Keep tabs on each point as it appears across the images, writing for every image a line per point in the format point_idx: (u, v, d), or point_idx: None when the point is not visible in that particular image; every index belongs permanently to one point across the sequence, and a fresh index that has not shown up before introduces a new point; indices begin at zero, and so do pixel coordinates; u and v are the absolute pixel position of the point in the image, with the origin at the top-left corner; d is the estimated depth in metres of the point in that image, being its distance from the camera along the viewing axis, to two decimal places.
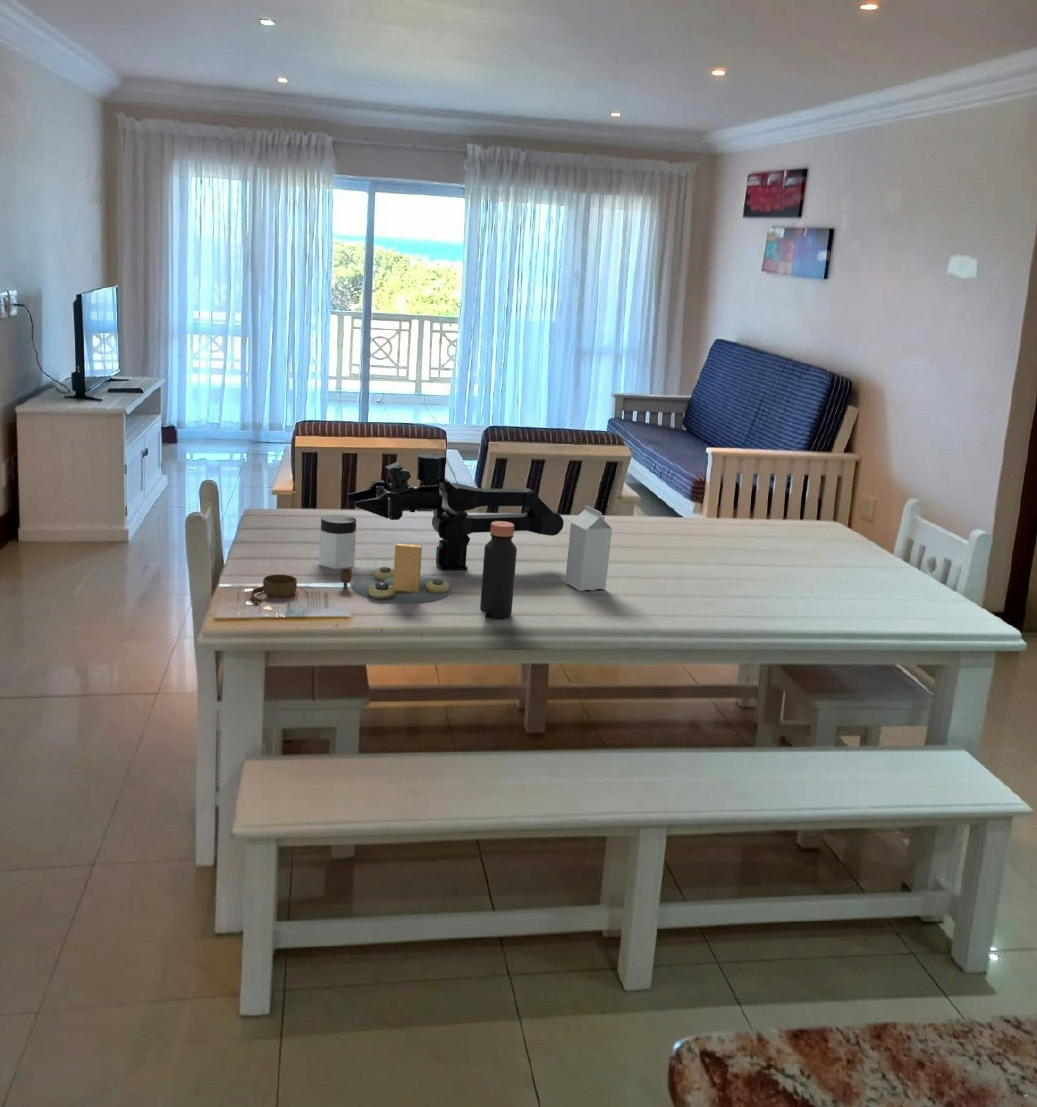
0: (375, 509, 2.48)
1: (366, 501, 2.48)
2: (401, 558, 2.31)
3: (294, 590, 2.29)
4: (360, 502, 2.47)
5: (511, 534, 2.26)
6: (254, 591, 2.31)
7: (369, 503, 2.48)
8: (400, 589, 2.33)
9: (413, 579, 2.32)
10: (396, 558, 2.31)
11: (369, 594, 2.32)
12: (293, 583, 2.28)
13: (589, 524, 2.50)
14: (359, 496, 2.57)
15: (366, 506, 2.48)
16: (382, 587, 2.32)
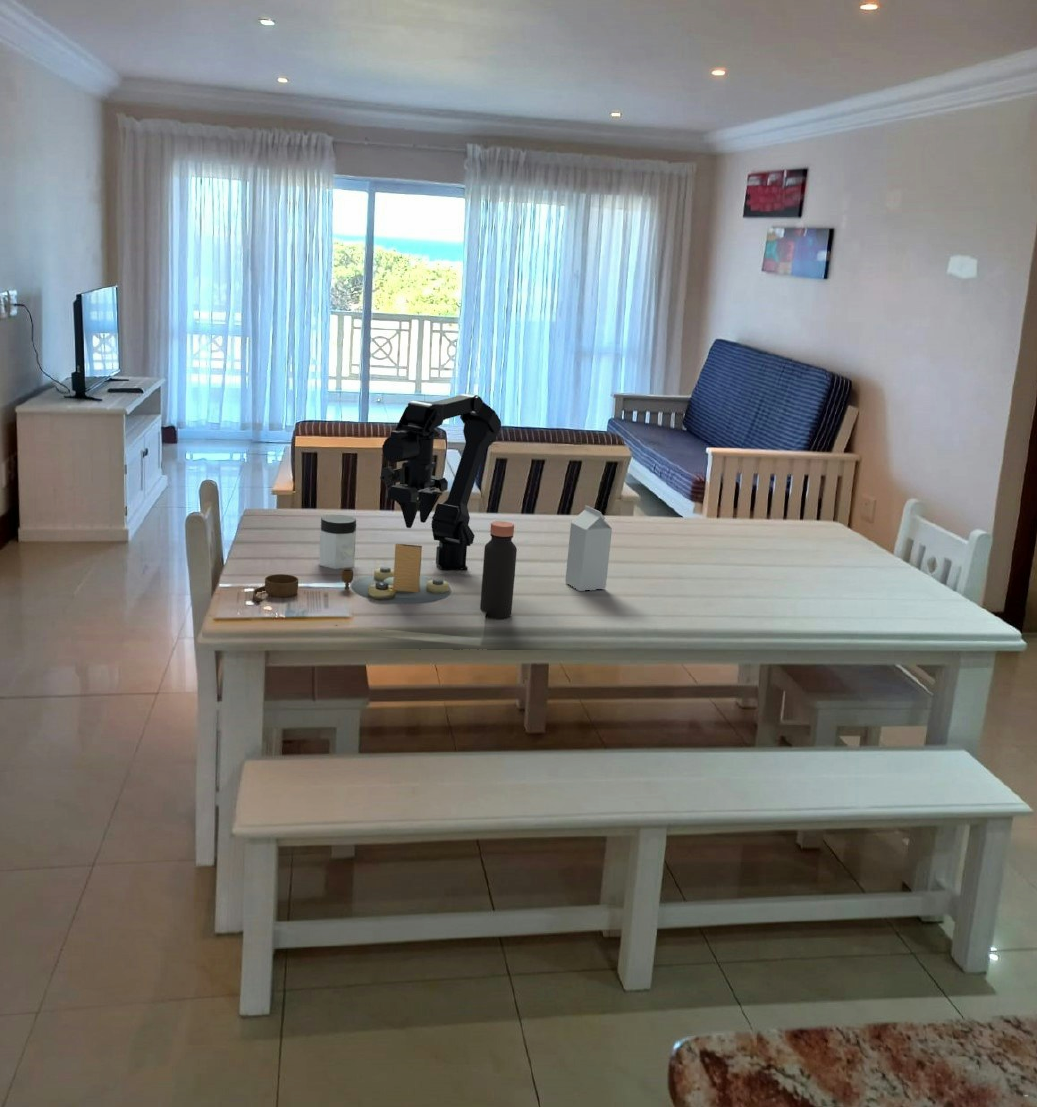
0: (410, 510, 2.43)
1: (404, 517, 2.44)
2: (401, 558, 2.31)
3: (296, 590, 2.30)
4: (406, 522, 2.45)
5: (511, 534, 2.26)
6: (256, 591, 2.32)
7: (405, 515, 2.44)
8: (400, 589, 2.33)
9: (413, 579, 2.32)
10: (396, 558, 2.31)
11: (369, 594, 2.32)
12: (295, 583, 2.29)
13: (589, 524, 2.50)
14: (423, 510, 2.51)
15: (409, 518, 2.44)
16: (382, 587, 2.32)
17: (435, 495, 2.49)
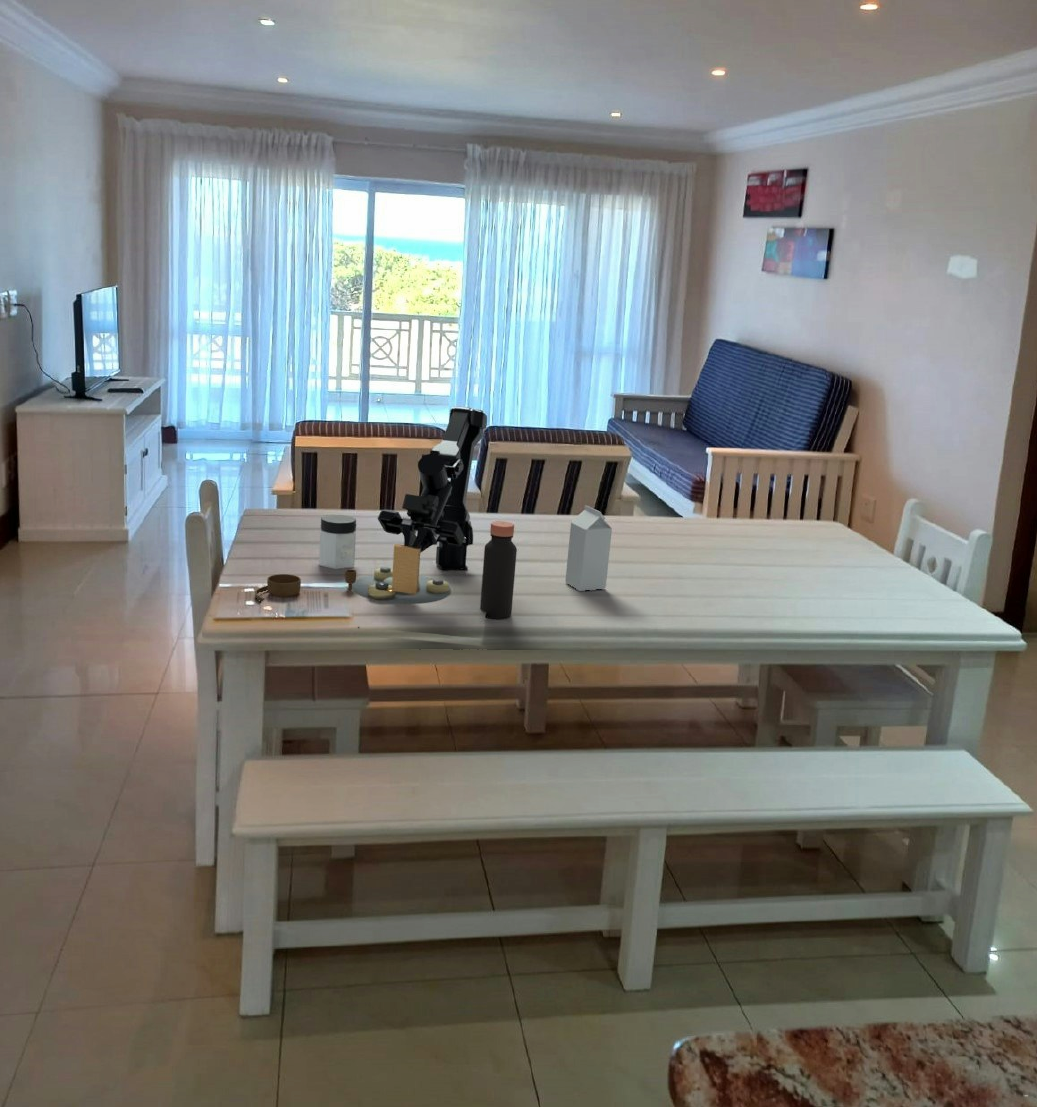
0: (422, 547, 2.33)
1: None
2: (400, 559, 2.30)
3: (298, 590, 2.30)
4: None
5: (511, 534, 2.26)
6: (259, 590, 2.32)
7: None
8: (398, 590, 2.32)
9: (411, 581, 2.31)
10: (395, 559, 2.30)
11: (368, 593, 2.32)
12: (297, 583, 2.29)
13: (589, 524, 2.50)
14: None
15: None
16: (381, 587, 2.32)
17: None
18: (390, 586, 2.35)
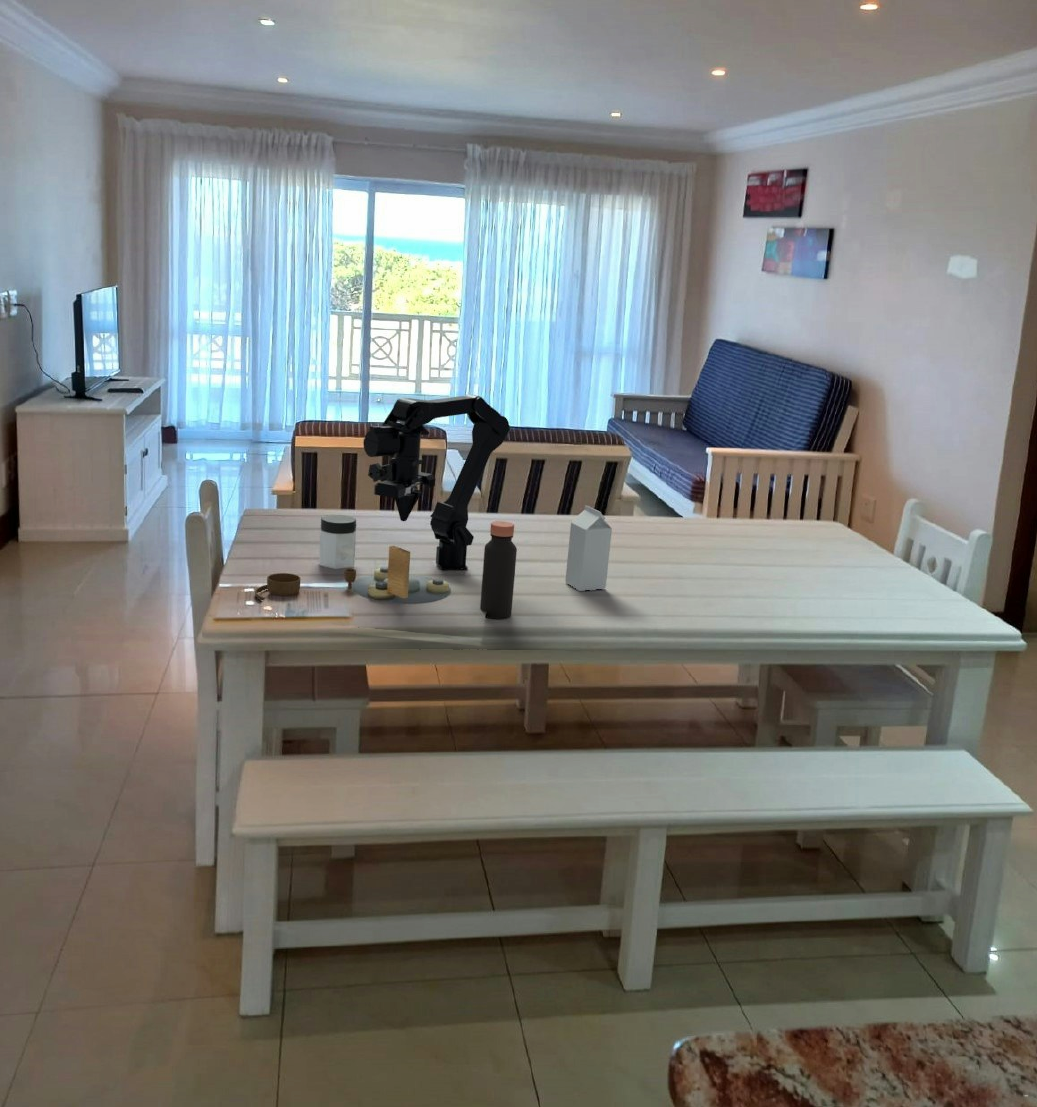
0: (405, 504, 2.48)
1: (399, 510, 2.50)
2: (393, 561, 2.28)
3: (297, 589, 2.31)
4: (400, 516, 2.51)
5: (511, 534, 2.26)
6: (259, 589, 2.33)
7: (400, 508, 2.50)
8: (391, 592, 2.30)
9: (400, 584, 2.28)
10: (389, 560, 2.29)
11: None
12: (296, 582, 2.30)
13: (589, 524, 2.50)
14: None
15: (403, 511, 2.50)
16: (378, 586, 2.32)
17: (416, 493, 2.49)
18: None
